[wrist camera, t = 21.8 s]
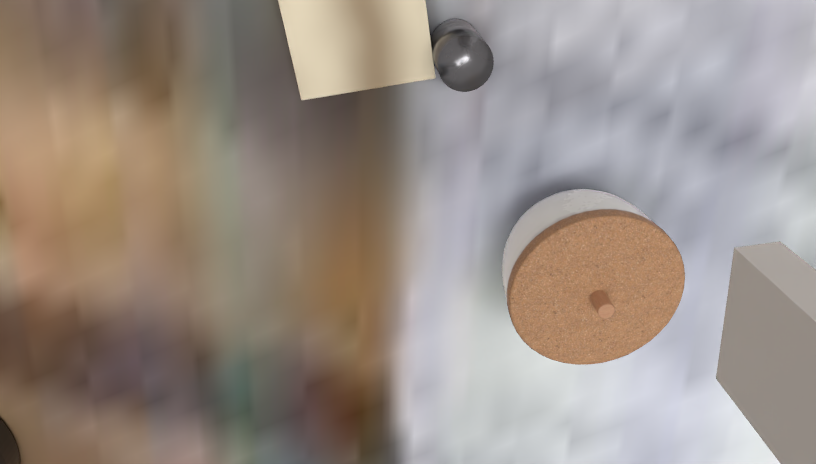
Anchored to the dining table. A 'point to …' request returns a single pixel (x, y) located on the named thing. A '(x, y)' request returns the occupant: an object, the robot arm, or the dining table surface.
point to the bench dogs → (461, 55)
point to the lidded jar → (589, 277)
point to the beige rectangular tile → (357, 44)
